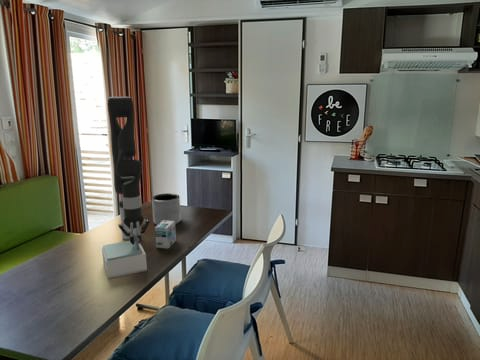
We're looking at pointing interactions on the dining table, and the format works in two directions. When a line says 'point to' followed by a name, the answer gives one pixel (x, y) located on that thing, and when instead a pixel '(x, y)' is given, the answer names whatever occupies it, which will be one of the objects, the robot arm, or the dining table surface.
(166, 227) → the light bulb box
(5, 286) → the dining table surface
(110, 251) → the door
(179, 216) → the planter
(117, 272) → the cabinet
